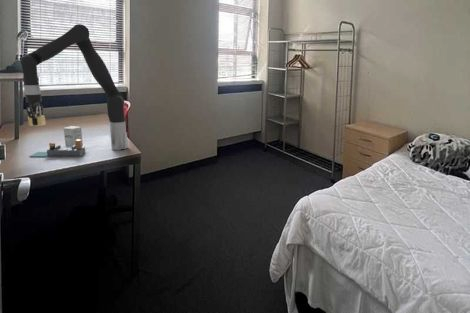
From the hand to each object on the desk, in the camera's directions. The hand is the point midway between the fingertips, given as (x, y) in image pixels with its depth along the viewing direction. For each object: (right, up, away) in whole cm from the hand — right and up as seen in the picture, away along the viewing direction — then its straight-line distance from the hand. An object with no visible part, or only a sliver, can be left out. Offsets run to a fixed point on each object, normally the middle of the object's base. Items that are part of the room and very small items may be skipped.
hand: (37, 124), depth 188 cm
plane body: (+14, -17, +6) cm, 23 cm away
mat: (0, -17, +5) cm, 18 cm away
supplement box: (+9, -12, +24) cm, 29 cm away
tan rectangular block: (0, 0, 0) cm, 0 cm away
